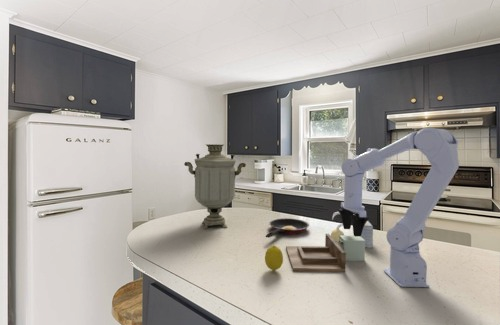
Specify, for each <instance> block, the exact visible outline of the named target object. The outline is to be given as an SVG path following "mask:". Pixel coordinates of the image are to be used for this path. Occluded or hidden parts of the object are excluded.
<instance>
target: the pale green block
mask: <svg viewBox="0 0 500 325" xmlns="http://www.w3.org/2000/svg"><path fill="white" fill-rule="evenodd" d="M338 245H339V246H340V247H341V248H342V249H343V250H344V251H345V253H346V261H355V262H358V261H362V262H363V261H365V258H366V256H365V255H366V247H365V240H364V239H363V238H361V237H360V236H354V235H345V234H344V235H339V242H338Z"/></svg>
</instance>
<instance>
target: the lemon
mask: <svg viewBox="0 0 500 325" xmlns="http://www.w3.org/2000/svg"><path fill="white" fill-rule="evenodd" d="M264 262H265V265H266V266H267V268H268V269H270V270H271V271H273V272H276V271H277V270H279V269H280V268H281V267H282V265H283V263H284V256H283V251H282V250H281V248H279V247H278V246H277V245H272V246H270V247H269V246H268V248H267V250H266V251H265V254H264Z"/></svg>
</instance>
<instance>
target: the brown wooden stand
mask: <svg viewBox="0 0 500 325" xmlns="http://www.w3.org/2000/svg"><path fill="white" fill-rule="evenodd" d="M324 238H325V244H324V246H321V245H320V246H318V245H317V246H316V245H314V246H310V245H309V246H307V245H303V246H302V245H301V246H300V245H296V246H295V245H285V250H286V253H287V256H288V258H289V263H290V266H291V269H292V272H318V273H319V272H321V273H323V272H326V273H327V272H329V273H330V272H331V273H346V265H347V264H346V261H347V260H346V253H345V251H344V250H343V249H342V248H341V247H340V246H339V243H338V242H336V241H335V240H334V239H333V238H332V237H331V234H330V233H325V237H324Z"/></svg>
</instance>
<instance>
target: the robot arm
mask: <svg viewBox="0 0 500 325" xmlns="http://www.w3.org/2000/svg"><path fill="white" fill-rule="evenodd" d="M458 146H459V141H458V140H457V138H456V137H455V135H454V134H453V132H452V131H450V130H449V129H445V128H435V127H431V126H430V127H423V128H421V129H419V130H416V131H413V132H411V133H409V134H407V135H406V136H404V137H402V138H400V139H399V140H396V141H394V142H393V143H391V144H388V145H386V146H385V147H383V148H381V149H378V148H367V149H366V152H364V153H361V154H360V155H359V154H356V155H355V156H354V158H346V160H344V161H343V162H342V163H341V172H342V173H343V174H344V187H343V188H344V189H343V190H344V193H343V194H344V196H343V198H344V199H343V201H341V202H340V208H338V210H337V212H339V213H340V214H339V215H340V219H341V221H342V223H343V226H342V227H343V229H344V230H351V227H352V233H353V236H361V234H362V231H363V228H364V225H365V223H366V222H367V221H368V222H369V216H367V211H366V210H365V208H366V207H365V206H364V205H363V204H362V203H363V180H364V175H365V174H366V172H368V171H370V170H373V169H376V168H378V167H380V166H382V165H384V163H385V161H386V160H387V159H389V158H392V157H394V156H397V155H399V154H402V153H404V152H407V151H410V150H418V151H419V152H421V154H423V155H424V156H425V157H426V159H427V161H428V162H429V164H430V165H431V166H430V169H429V171H428V173H427V175H426V176H425V178H424V179H423V181H422V183H421V185H420V187H419V189H418V190H417V192H416V194H415V195H414V197H413V199H412V200H411V203H410V205H409V206H408V208H407V210H406V212H405V214H404V215H403V216H402V217H401V218H400V219H399V220H398V221H397V222H396V224H394V226H393V227H391V228H389V229H388V230H387V232H386V240H387V243H388V244H389V245H390V250H389V251H390V252H389V269H387V268H386V269H385V268H384V269H383V272H384V273H385V274H387V276H388V277H389V278H390V279H391V280H393V281H394V282H395V283H396V284H397V285H398V286H399V287H402V288H403V287H404V288H405V287H406V288H407V287H410V288H430V285H429V283H427V267H428V265H427V261H426V260H425V259H424V258H423V257H422V255H421V254H420V253H421V252H420V246H419V244H420V243H421V242H422V241H423V239H424V231H425V229H426V227H427V226H426V223H427V222H426V221H427V220H428V219H429V216H430V215H431V213H432V212H433V210H434V209H435V207H436V206H437V204H438V202H439V200H440V199H441V198H442V196H443V194H444V192H445V191H446V189H447V187H448V186H449V184H450V182H451V180H453V178H454V176H455V174H456V172H457V171H458V169H459V167H460V162H459V154H458Z"/></svg>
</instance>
